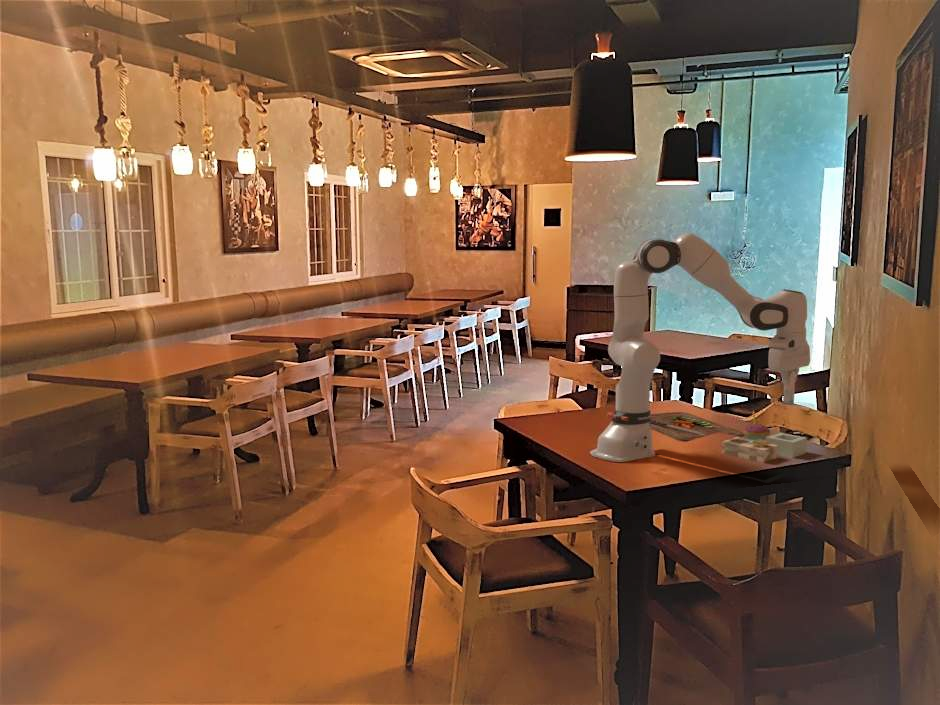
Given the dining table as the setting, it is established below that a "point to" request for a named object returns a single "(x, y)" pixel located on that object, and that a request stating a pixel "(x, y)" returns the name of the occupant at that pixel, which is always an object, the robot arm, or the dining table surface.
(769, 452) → the socket block
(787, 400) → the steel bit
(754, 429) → the cupcake
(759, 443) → the drift key
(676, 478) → the dining table surface
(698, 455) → the dining table surface
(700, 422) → the chopping board
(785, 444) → the bit rack
